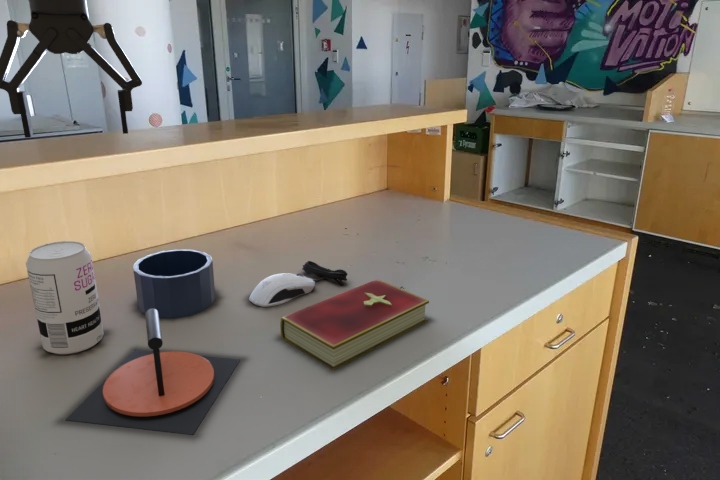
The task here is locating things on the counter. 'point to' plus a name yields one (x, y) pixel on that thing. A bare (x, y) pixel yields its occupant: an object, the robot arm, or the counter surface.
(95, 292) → the supplement can
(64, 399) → the counter surface
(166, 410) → the lid
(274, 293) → the computer mouse
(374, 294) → the hardcover book
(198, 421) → the mat
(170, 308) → the lunch tin
